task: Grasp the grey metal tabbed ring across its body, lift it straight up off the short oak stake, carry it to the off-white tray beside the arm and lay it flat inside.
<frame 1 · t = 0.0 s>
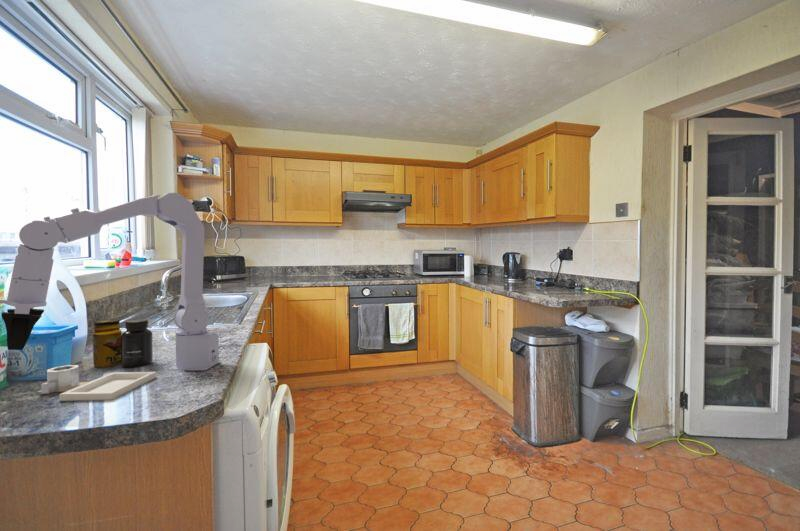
hand: (17, 346, 77), 11 cm above the countertop, tool pointing down, fingers open, 7 cm apart
tray: (112, 390, 81), on the countertop
supplement bottle: (137, 367, 99), on the countertop
condiment: (104, 367, 100), on the countertop
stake: (63, 388, 82), on the countertop
ring: (63, 386, 82), touching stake
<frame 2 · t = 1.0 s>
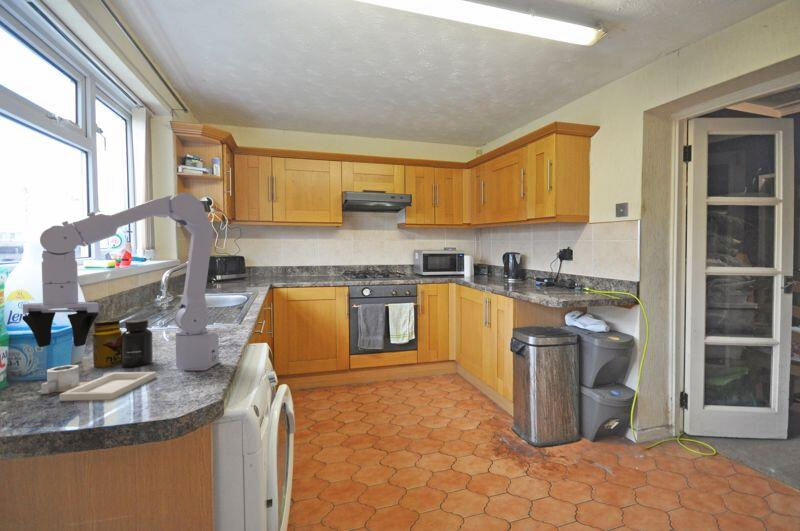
hand: (62, 345, 82), 9 cm above the countertop, tool pointing down, fingers open, 7 cm apart
nothing on the countertop moved.
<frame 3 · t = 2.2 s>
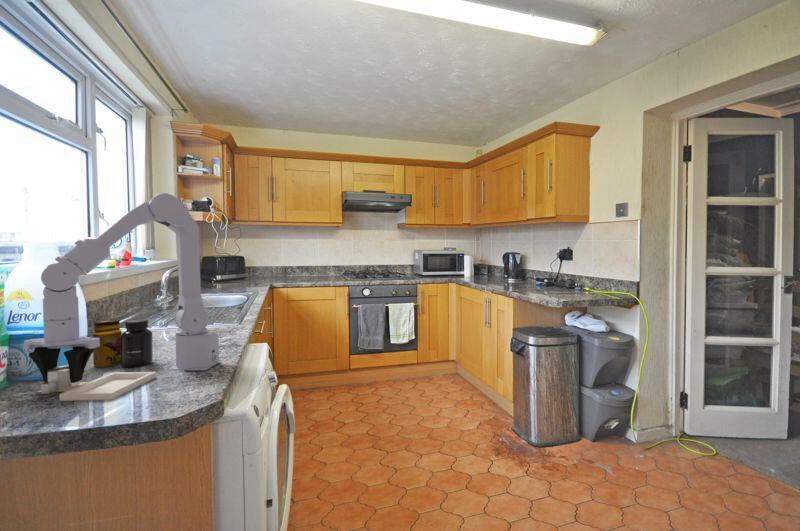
hand: (63, 381, 82), 2 cm above the countertop, tool pointing down, fingers closed on ring, 5 cm apart
ring: (63, 386, 82), point 1 cm above the countertop, touching gripper, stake
everything else where it was.
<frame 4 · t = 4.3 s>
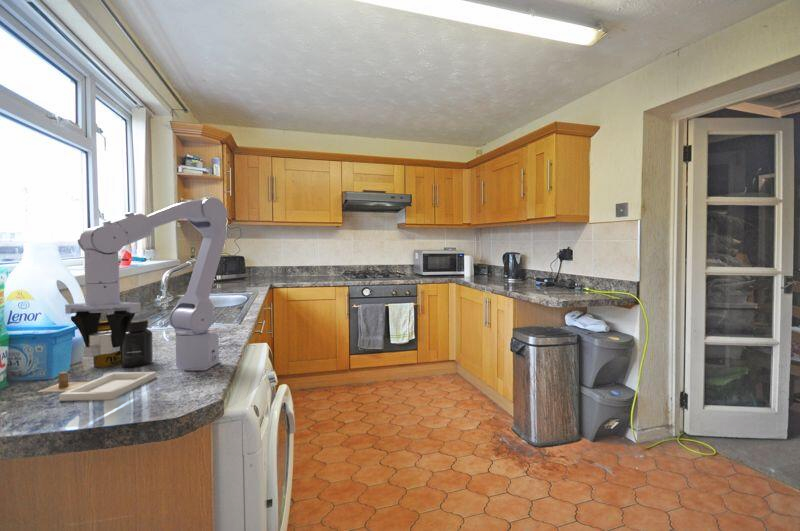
hand: (104, 346, 81), 9 cm above the countertop, tool pointing down, fingers closed on ring, 5 cm apart
ring: (104, 351, 81), point 8 cm above the countertop, touching gripper
everything else where it was.
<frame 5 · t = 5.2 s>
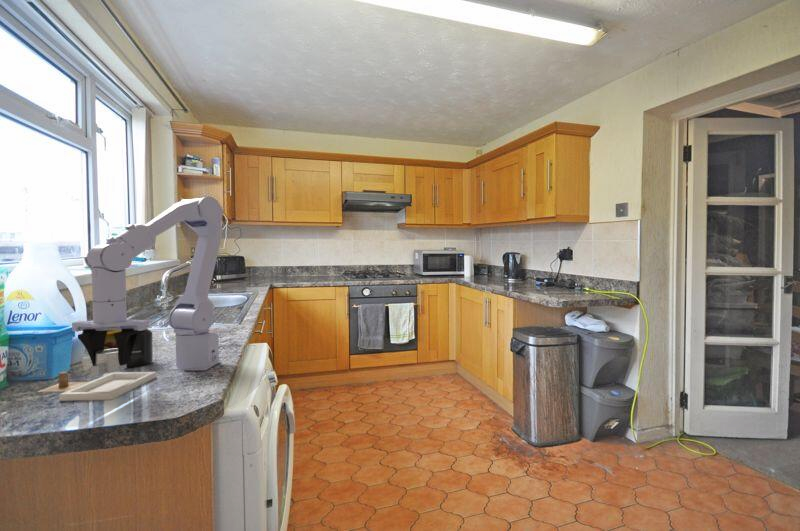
hand: (111, 364, 81), 6 cm above the countertop, tool pointing down, fingers closed on ring, 5 cm apart
ring: (111, 369, 81), point 4 cm above the countertop, touching gripper
everything else where it was.
when the fingers open (3 cm above the countertop, at t = 6.2 s): ring drops 1 cm, resting on tray.
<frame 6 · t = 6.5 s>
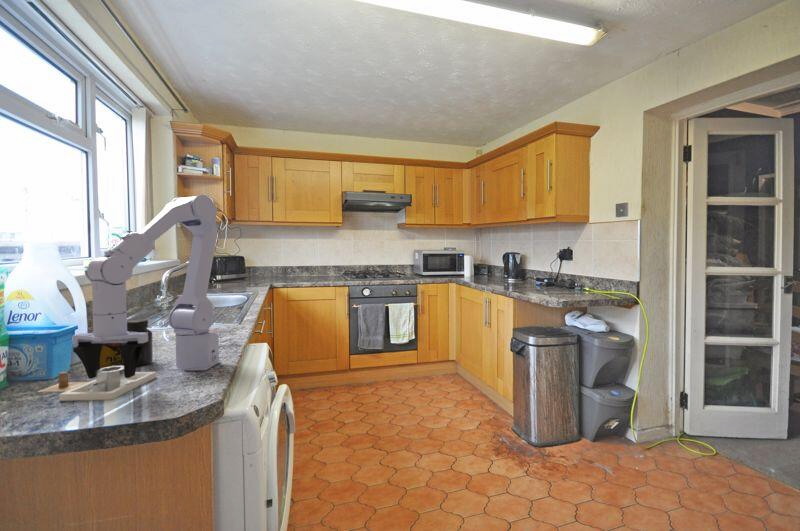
hand: (111, 376, 81), 3 cm above the countertop, tool pointing down, fingers open, 7 cm apart
ring: (111, 387, 81), point 1 cm above the countertop, touching tray
everything else where it was.
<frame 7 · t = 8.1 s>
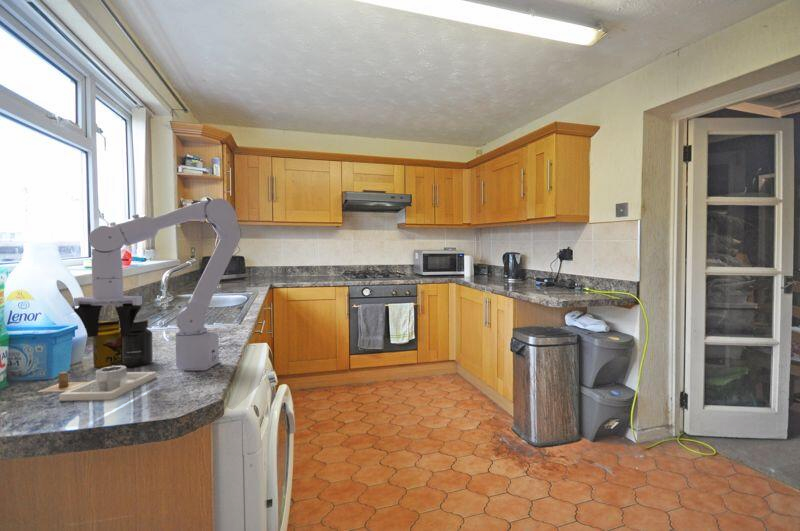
hand: (109, 336, 90), 10 cm above the countertop, tool pointing down, fingers open, 7 cm apart
nothing on the countertop moved.
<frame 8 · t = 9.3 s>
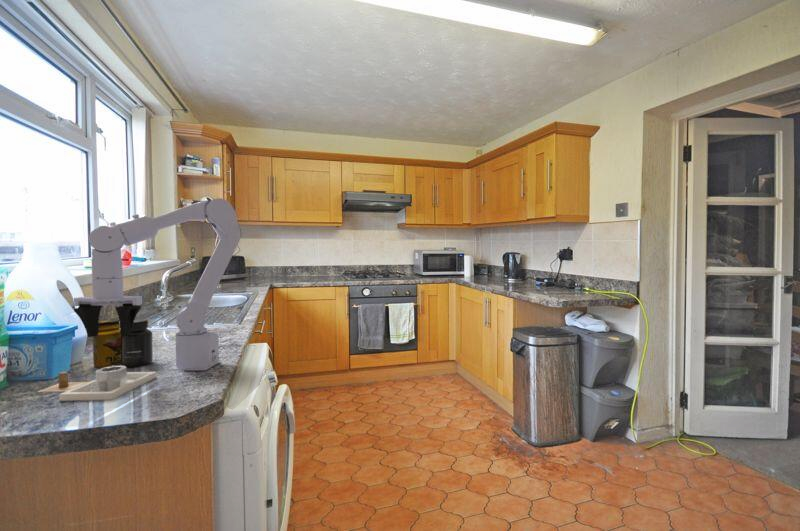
hand: (109, 336, 90), 10 cm above the countertop, tool pointing down, fingers open, 7 cm apart
nothing on the countertop moved.
at the end: ring inside the target area on the tray (0.0 cm from its centre), point 0.6 cm above the tray's base; ring tilted 0°; the gripper is holding nothing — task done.
